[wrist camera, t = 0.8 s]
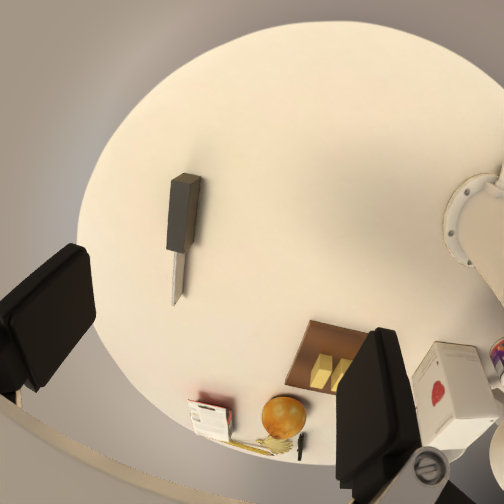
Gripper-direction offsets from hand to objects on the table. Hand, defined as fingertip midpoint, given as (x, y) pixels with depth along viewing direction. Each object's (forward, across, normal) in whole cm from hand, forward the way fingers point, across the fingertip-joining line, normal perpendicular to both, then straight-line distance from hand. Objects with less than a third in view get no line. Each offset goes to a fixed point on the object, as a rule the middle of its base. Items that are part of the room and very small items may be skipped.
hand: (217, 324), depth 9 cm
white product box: (+27, -34, +23) cm, 49 cm away
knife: (+28, +10, +14) cm, 33 cm away
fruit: (+28, -12, +42) cm, 51 cm away
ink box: (+26, 0, +59) cm, 64 cm away
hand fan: (+25, -13, +58) cm, 65 cm away
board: (+27, -16, +28) cm, 42 cm away
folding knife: (+27, -19, +55) cm, 64 cm away
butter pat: (+26, -13, +28) cm, 40 cm away
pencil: (+26, -8, +62) cm, 68 cm away
